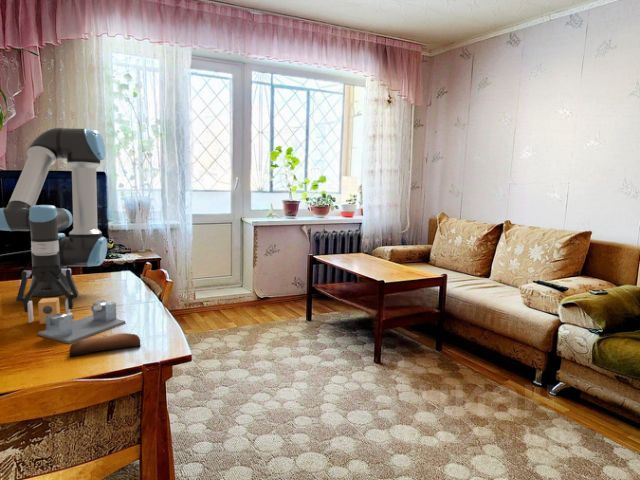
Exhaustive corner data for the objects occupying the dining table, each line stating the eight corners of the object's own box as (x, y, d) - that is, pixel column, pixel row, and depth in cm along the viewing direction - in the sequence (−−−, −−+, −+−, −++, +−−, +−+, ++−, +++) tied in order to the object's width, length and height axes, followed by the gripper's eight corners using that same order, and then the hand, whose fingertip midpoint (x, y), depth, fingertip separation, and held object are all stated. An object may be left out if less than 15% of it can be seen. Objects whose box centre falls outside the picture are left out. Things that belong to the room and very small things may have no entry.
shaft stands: (46, 334, 135) (45, 316, 134) (103, 316, 153) (103, 299, 152) (60, 338, 132) (58, 319, 131) (116, 318, 150) (115, 302, 149)
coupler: (39, 323, 146) (38, 302, 145) (43, 318, 151) (41, 298, 150) (57, 322, 148) (55, 301, 146) (60, 317, 152) (58, 297, 151)
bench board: (38, 334, 136) (37, 332, 136) (95, 316, 154) (95, 314, 154) (69, 343, 131) (69, 341, 130) (125, 323, 149) (125, 320, 148)
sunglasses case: (137, 337, 137) (138, 322, 133) (140, 355, 132) (141, 341, 128) (70, 346, 129) (68, 331, 125) (70, 366, 124) (68, 351, 120)
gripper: (0, 256, 138) (6, 326, 142) (83, 254, 146) (86, 320, 149) (7, 252, 145) (13, 319, 148) (86, 250, 153) (89, 313, 156)
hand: (49, 319), depth 149 cm, fingers open, 10 cm apart
